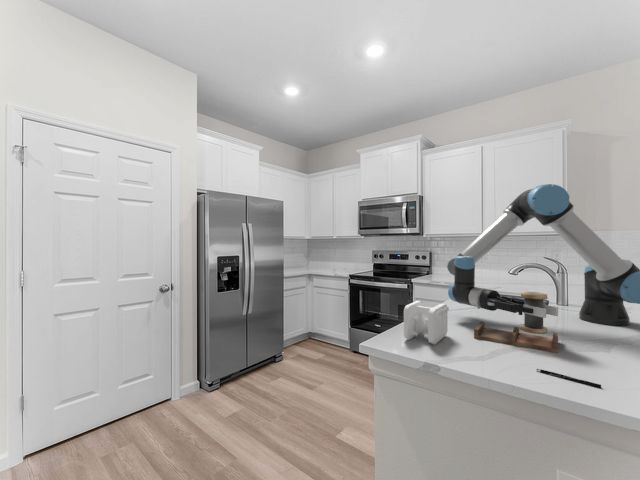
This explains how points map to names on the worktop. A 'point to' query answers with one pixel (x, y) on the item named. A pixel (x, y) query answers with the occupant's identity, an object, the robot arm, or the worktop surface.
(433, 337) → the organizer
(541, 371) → the black pen
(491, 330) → the slot cradle
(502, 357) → the worktop surface
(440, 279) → the worktop surface
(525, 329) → the cord spool
